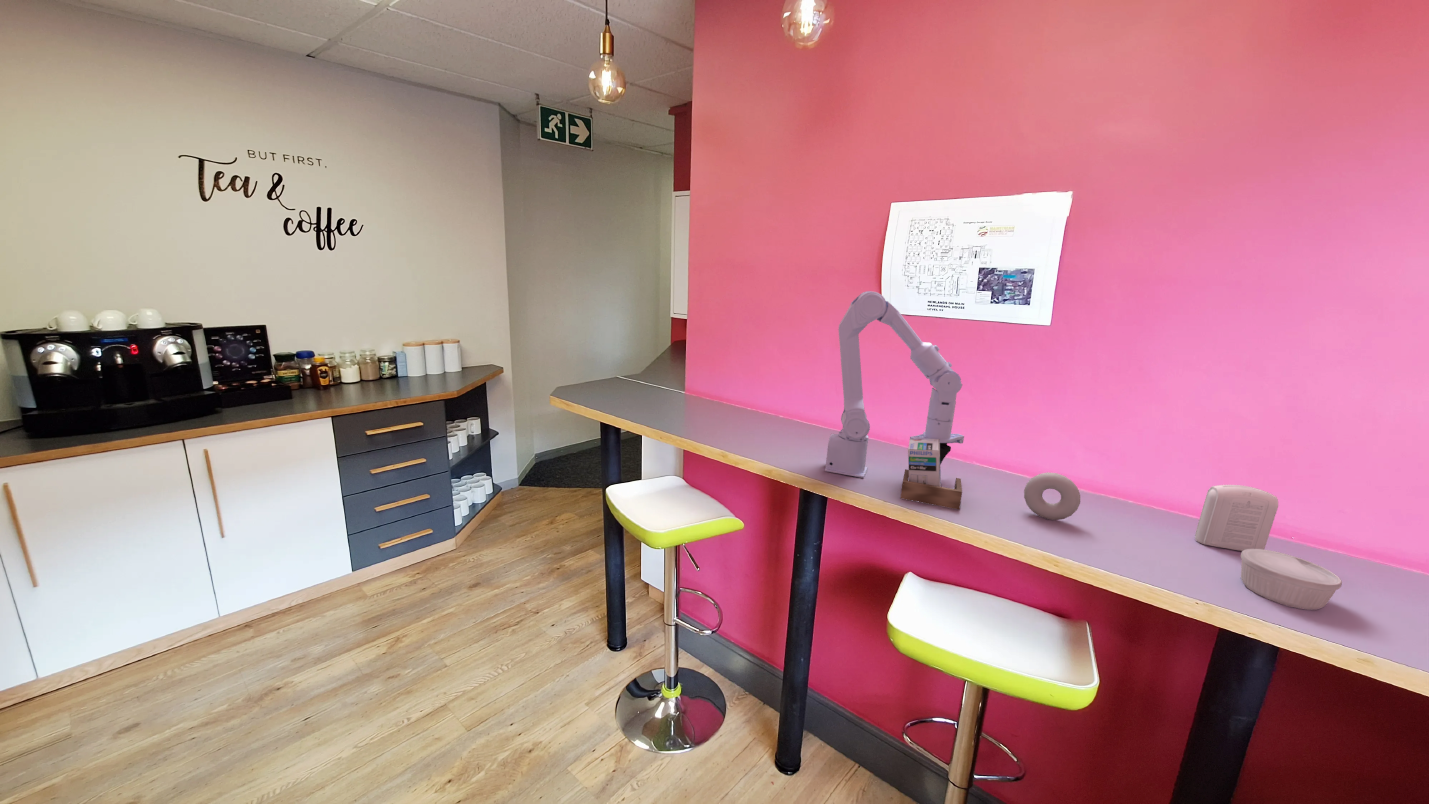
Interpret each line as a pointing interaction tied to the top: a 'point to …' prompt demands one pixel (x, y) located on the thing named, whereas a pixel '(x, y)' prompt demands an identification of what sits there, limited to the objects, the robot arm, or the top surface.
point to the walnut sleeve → (932, 493)
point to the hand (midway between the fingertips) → (932, 472)
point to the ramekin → (1288, 579)
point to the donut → (1048, 510)
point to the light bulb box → (924, 461)
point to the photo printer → (1236, 517)
